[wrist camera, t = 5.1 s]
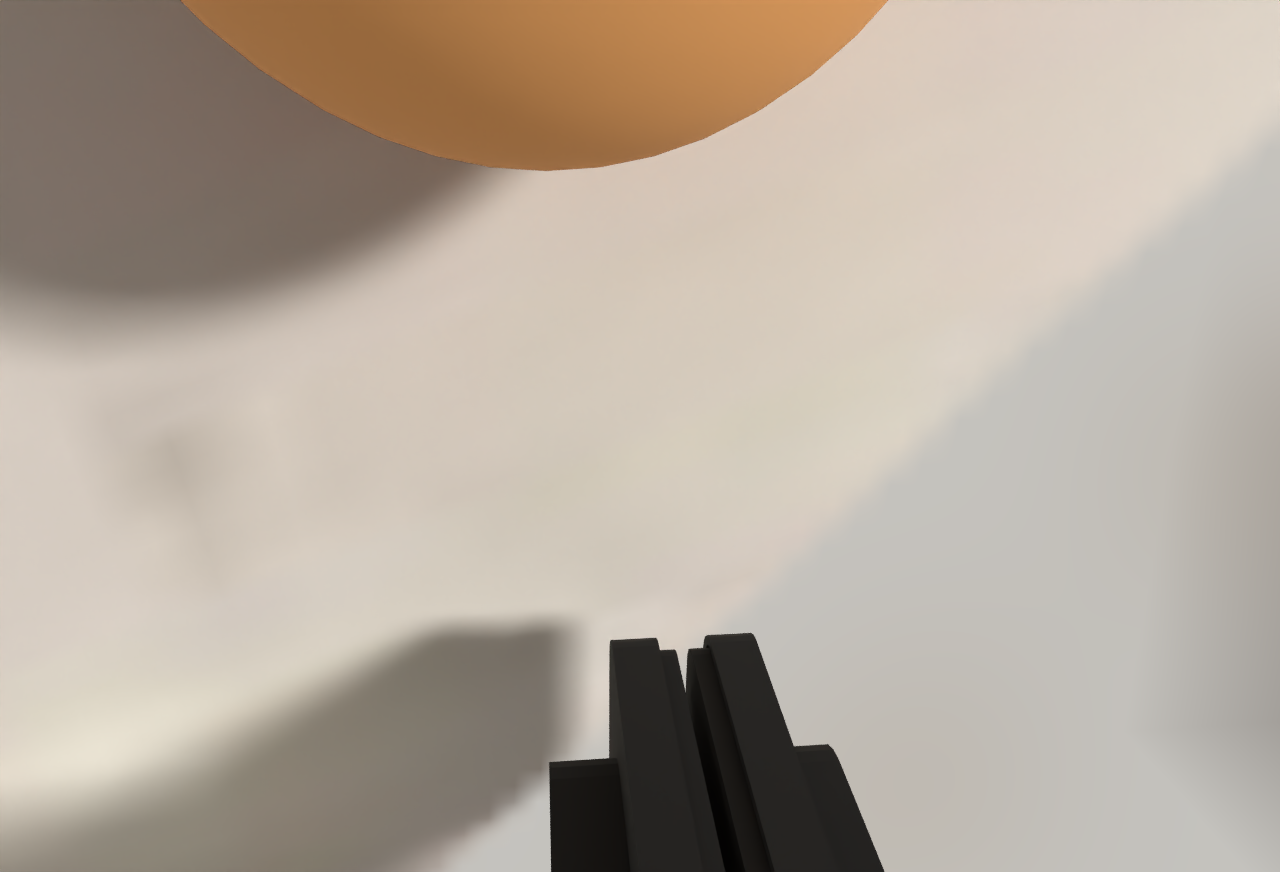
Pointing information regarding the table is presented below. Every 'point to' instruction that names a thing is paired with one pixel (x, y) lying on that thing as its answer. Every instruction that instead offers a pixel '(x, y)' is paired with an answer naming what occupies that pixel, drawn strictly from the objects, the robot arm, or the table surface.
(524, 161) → the ball
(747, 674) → the robot arm
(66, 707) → the table surface
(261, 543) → the table surface
